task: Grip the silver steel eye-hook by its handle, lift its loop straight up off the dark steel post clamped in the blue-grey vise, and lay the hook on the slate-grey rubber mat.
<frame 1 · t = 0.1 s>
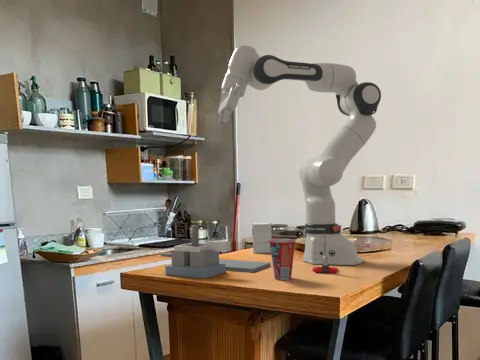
hand: (222, 123, 174), 52 cm above the counter, tool tilted 20°, fingers open, 8 cm apart
supplement box: (262, 252, 207), on the counter
mat: (234, 267, 170), on the counter
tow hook: (325, 271, 159), on the counter
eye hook: (195, 249, 159), point 8 cm above the counter, touching vise
vise: (195, 273, 159), on the counter
cup: (282, 279, 147), on the counter
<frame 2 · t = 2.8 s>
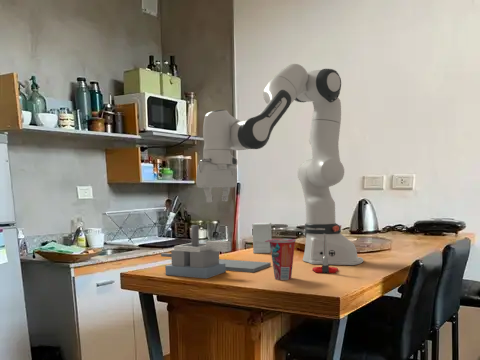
hand: (217, 201, 155), 24 cm above the counter, tool pointing down, fingers open, 8 cm apart
nothing on the counter moved.
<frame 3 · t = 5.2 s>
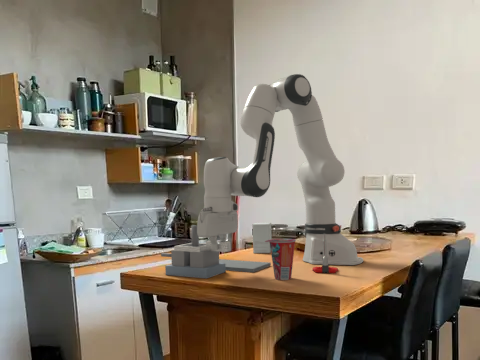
hand: (218, 248, 155), 9 cm above the counter, tool pointing down, fingers closed on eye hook, 2 cm apart
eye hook: (195, 249, 159), point 8 cm above the counter, touching gripper, vise
everything else where it was.
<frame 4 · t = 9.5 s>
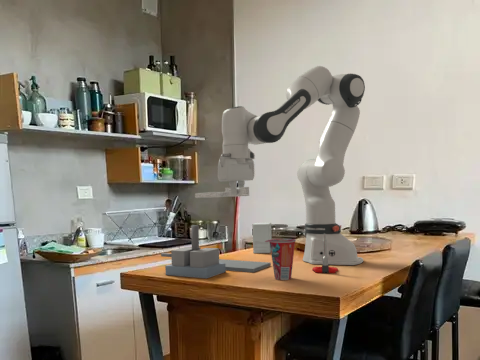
hand: (237, 194, 163), 26 cm above the counter, tool pointing down, fingers closed on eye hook, 2 cm apart
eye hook: (214, 196, 167), point 25 cm above the counter, touching gripper
everything else where it was.
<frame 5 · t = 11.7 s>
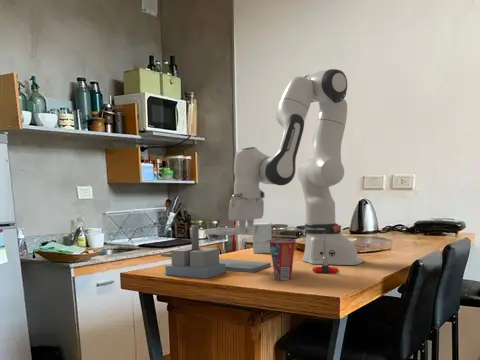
hand: (246, 232, 166), 12 cm above the counter, tool pointing down, fingers closed on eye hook, 2 cm apart
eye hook: (224, 233, 171), point 12 cm above the counter, touching gripper
everything else where it was.
when the fingers open (4 cm above the counter, at t = 13.7 s): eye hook drops 2 cm, resting on mat.
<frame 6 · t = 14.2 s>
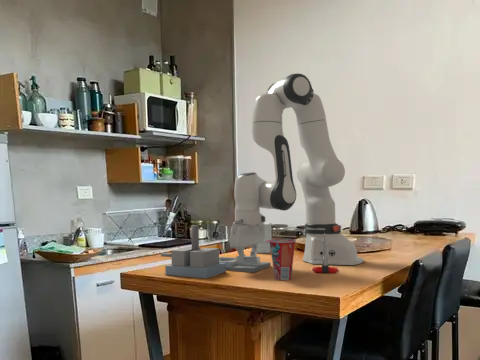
hand: (248, 258, 167), 4 cm above the counter, tool pointing down, fingers open, 7 cm apart
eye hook: (225, 263, 171), point 1 cm above the counter, touching mat
everything else where it was.
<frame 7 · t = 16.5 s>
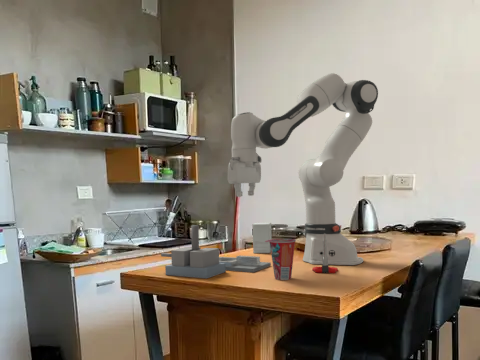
hand: (245, 196, 171), 25 cm above the counter, tool pointing down, fingers open, 8 cm apart
nothing on the counter moved.
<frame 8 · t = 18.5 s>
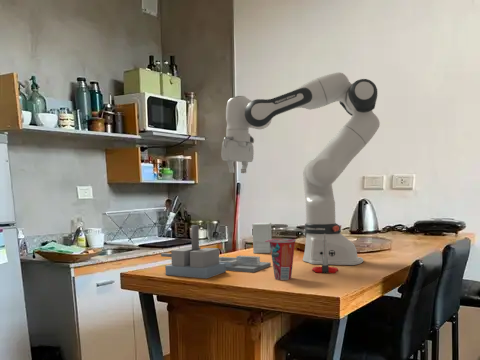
hand: (238, 173, 187), 34 cm above the counter, tool pointing down, fingers open, 8 cm apart
nothing on the counter moved.
at the end: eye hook inside the target area (1.0 cm from its centre), point 1.2 cm above the counter; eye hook touching mat; the gripper is holding nothing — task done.
